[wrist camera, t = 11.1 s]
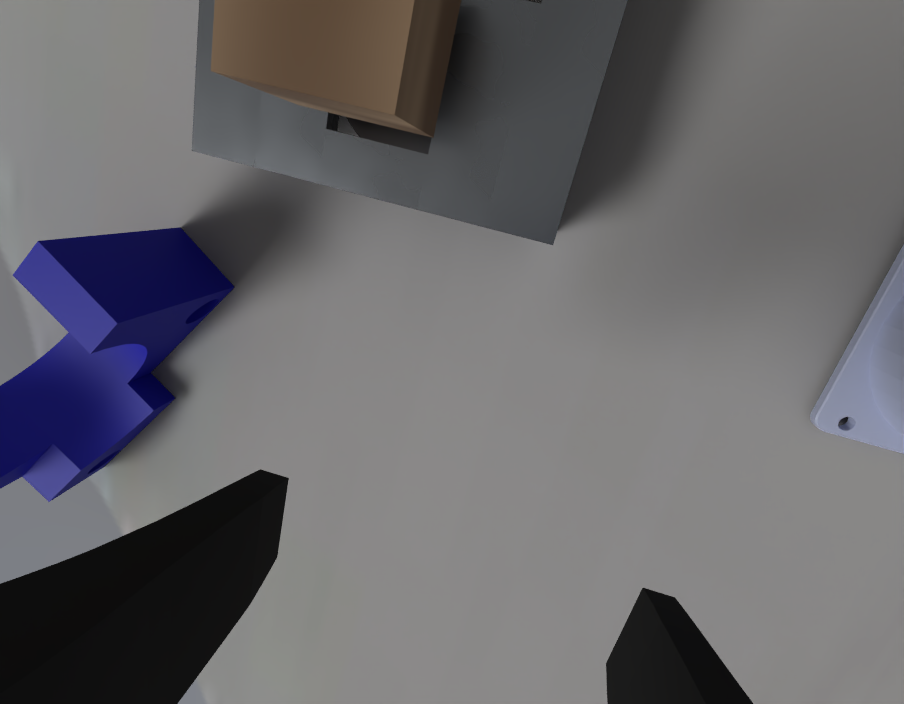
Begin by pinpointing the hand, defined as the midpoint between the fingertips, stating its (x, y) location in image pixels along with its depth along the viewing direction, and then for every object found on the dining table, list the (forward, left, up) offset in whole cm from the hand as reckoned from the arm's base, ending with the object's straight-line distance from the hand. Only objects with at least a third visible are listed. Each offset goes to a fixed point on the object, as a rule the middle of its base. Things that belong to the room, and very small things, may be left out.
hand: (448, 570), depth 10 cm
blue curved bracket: (+15, +3, -10) cm, 18 cm away
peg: (+5, -10, -10) cm, 15 cm away
